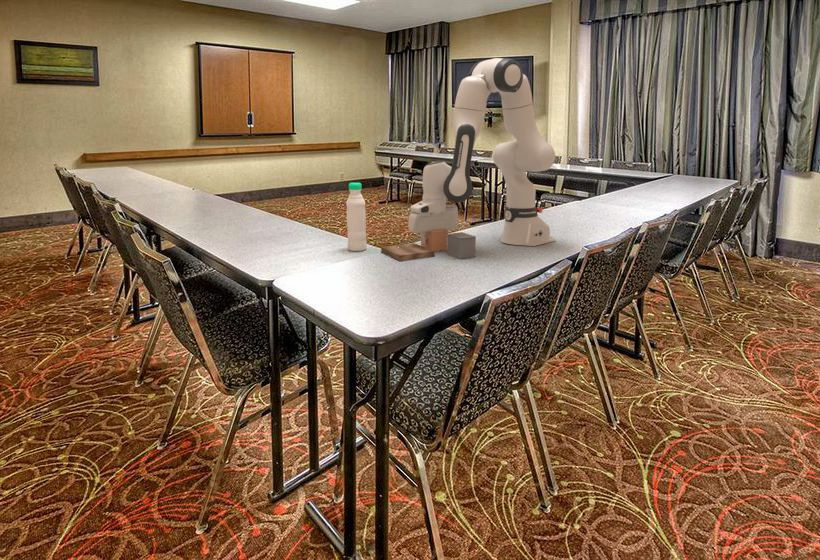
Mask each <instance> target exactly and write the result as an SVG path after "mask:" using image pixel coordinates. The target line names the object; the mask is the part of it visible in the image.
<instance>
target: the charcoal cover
mask: <svg viewBox="0 0 820 560" xmlns="http://www.w3.org/2000/svg"><path fill="white" fill-rule="evenodd" d="M476 240H477V238H476V235H472V234H468V233H466V232H462V231H461V232H452V233H448V234H447V250H446V255H448V254H449V255H448V256H450V255H451V257H454V258H456V259H459V260H463V259H472V258H476V244H477V243H476V242H477V241H476Z"/></svg>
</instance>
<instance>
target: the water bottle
mask: <svg viewBox="0 0 820 560" xmlns="http://www.w3.org/2000/svg"><path fill="white" fill-rule="evenodd" d="M348 190H349V194H348V197H347V200H346V203H345V205H346V225H347V226H346V227H347V249H348V251H350V252H363V251H366V249H367V247H368V246H367V244H368V243H367V231H366V230H367V229H366V228H367V222H366V221H367V218H366V216H367V214H366V201H365V198H364V197H363V195H362V193H361V191H362V183H361V182H349V184H348Z"/></svg>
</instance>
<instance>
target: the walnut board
mask: <svg viewBox="0 0 820 560" xmlns="http://www.w3.org/2000/svg"><path fill="white" fill-rule="evenodd" d="M398 247H399V248H398ZM380 252H381V254H383V253H385V254H384V255H386V256H388V255H389V256H388V257H390V256H391V257H390V258H392V257H393V258H392V259H394V258H395V259H394V260H396V259H397V261H398V260H399V262H403V261H402V260H406V261H411V259H413V260H418V258H420V259H425V257H427V258H433V257H432V256H434V257H435V256H436V255H435V253H436V252H435V251H433V250H430V249H428V248H425V247H423V246H421V244H420V245H419V244H418V243H415V242H413V243H405V244H397V245H389V246H380Z"/></svg>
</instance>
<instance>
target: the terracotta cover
mask: <svg viewBox="0 0 820 560" xmlns="http://www.w3.org/2000/svg"><path fill="white" fill-rule="evenodd" d="M424 236H425V238H426V239H428V243H427V244H423V243H422V238H421V237H420V246H423V247H425V248H428V249H430V250H433V251H437V252H441V251H440V250H445V251H447V230H444V229H443V230H434V231H429V232H426V233H425V235H424Z"/></svg>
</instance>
